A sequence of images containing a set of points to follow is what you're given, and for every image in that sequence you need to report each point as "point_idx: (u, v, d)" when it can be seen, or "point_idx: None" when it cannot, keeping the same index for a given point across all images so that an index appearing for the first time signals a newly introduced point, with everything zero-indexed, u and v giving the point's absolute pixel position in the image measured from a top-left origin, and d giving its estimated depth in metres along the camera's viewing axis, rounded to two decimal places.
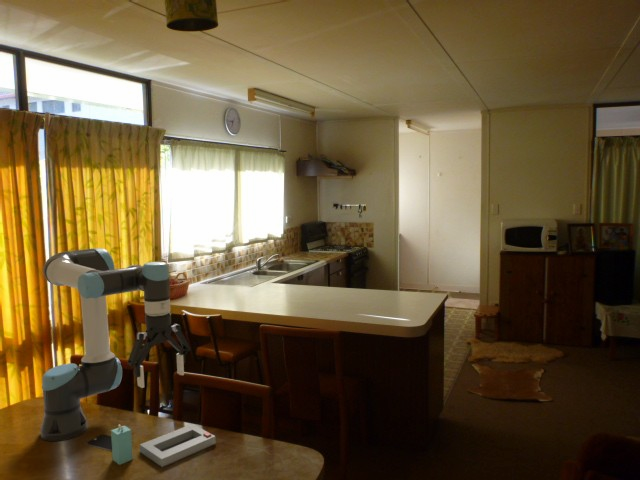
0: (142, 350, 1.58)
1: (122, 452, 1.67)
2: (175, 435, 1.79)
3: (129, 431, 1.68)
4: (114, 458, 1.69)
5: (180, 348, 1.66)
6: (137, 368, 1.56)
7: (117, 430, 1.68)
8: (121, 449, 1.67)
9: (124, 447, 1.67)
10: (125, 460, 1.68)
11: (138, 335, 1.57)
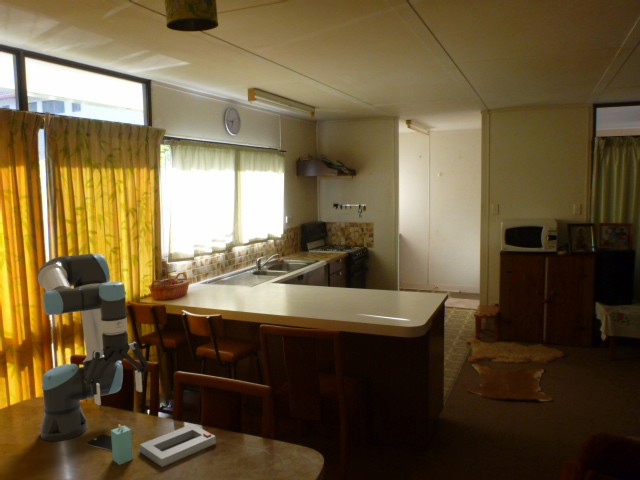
0: (99, 368, 1.62)
1: (122, 452, 1.67)
2: (175, 435, 1.79)
3: (129, 431, 1.68)
4: (114, 458, 1.69)
5: (138, 365, 1.70)
6: (93, 386, 1.60)
7: (117, 430, 1.68)
8: (121, 449, 1.67)
9: (124, 447, 1.67)
10: (125, 460, 1.68)
11: (94, 354, 1.61)
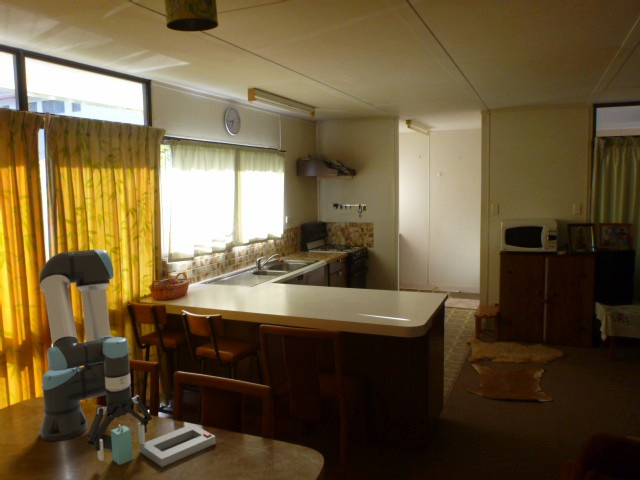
0: (102, 424, 1.64)
1: (122, 452, 1.67)
2: (175, 435, 1.79)
3: (129, 431, 1.68)
4: (114, 458, 1.69)
5: (141, 419, 1.72)
6: (97, 442, 1.62)
7: (117, 430, 1.68)
8: (121, 449, 1.67)
9: (124, 447, 1.67)
10: (125, 460, 1.68)
11: (97, 410, 1.63)
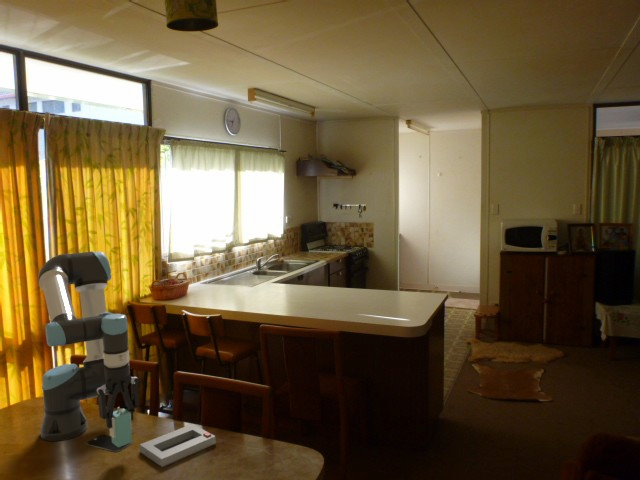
0: (108, 402, 1.66)
1: (121, 435, 1.67)
2: (175, 435, 1.79)
3: (128, 414, 1.68)
4: (113, 441, 1.68)
5: (130, 404, 1.69)
6: (109, 420, 1.65)
7: (116, 413, 1.68)
8: (120, 432, 1.66)
9: (123, 429, 1.67)
10: (124, 442, 1.68)
11: (97, 392, 1.63)
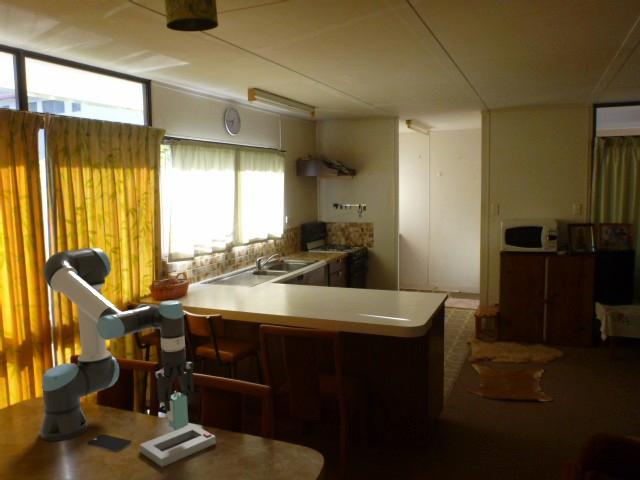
0: (166, 386, 1.72)
1: (178, 417, 1.72)
2: (175, 435, 1.79)
3: (185, 397, 1.74)
4: (170, 424, 1.74)
5: (186, 388, 1.75)
6: (167, 403, 1.71)
7: (173, 396, 1.74)
8: (178, 414, 1.72)
9: (181, 412, 1.73)
10: (181, 425, 1.73)
11: (156, 375, 1.69)
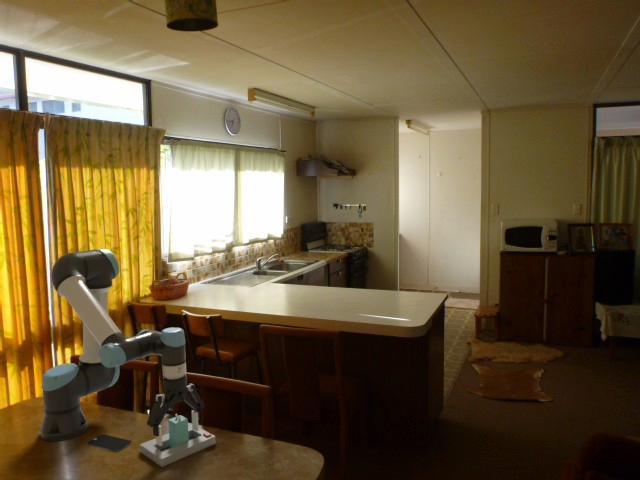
0: (160, 411, 1.71)
1: (179, 441, 1.73)
2: None
3: (186, 420, 1.74)
4: (171, 447, 1.75)
5: (195, 406, 1.79)
6: (156, 428, 1.69)
7: (174, 419, 1.74)
8: (179, 438, 1.73)
9: (182, 435, 1.74)
10: None
11: (156, 398, 1.69)
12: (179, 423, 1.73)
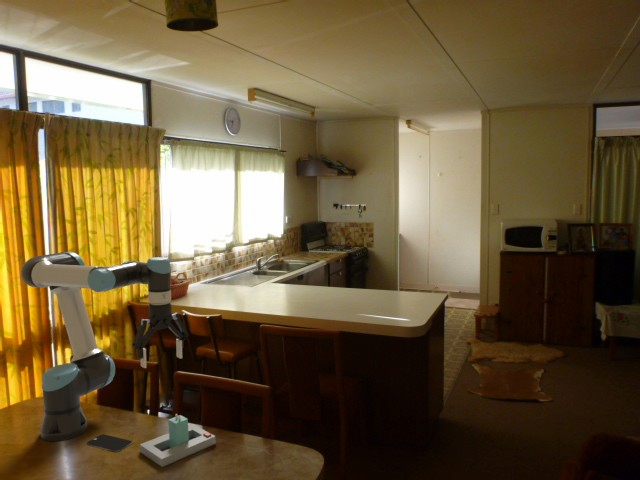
0: (145, 335, 1.79)
1: (179, 441, 1.73)
2: None
3: (186, 420, 1.74)
4: (171, 447, 1.75)
5: (179, 334, 1.87)
6: (140, 350, 1.77)
7: (174, 419, 1.74)
8: (179, 438, 1.73)
9: (182, 435, 1.74)
10: None
11: (141, 322, 1.78)
12: (179, 423, 1.73)
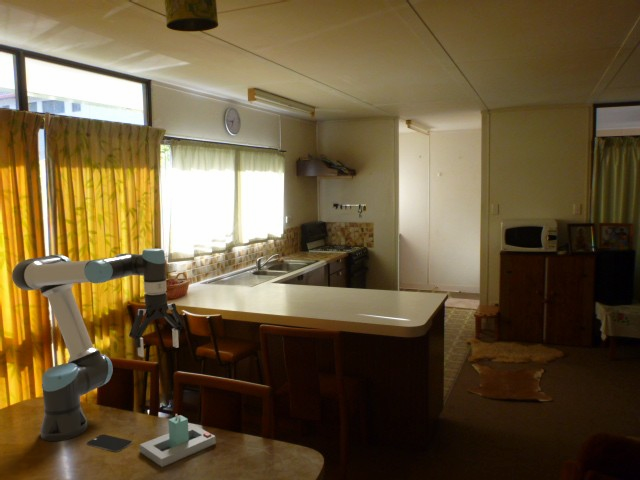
0: (142, 324, 1.83)
1: (179, 441, 1.73)
2: None
3: (186, 420, 1.74)
4: (171, 447, 1.75)
5: (175, 324, 1.91)
6: (137, 340, 1.81)
7: (174, 419, 1.74)
8: (179, 438, 1.73)
9: (182, 435, 1.74)
10: None
11: (138, 311, 1.81)
12: (179, 423, 1.73)
